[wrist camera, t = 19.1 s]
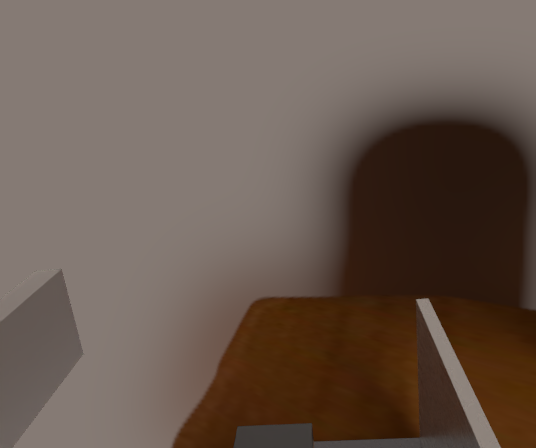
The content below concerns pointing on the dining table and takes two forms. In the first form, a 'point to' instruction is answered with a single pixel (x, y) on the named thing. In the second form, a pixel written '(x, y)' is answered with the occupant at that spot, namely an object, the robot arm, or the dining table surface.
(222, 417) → the dining table surface
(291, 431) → the lever
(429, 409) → the l-shaped metal bracket
